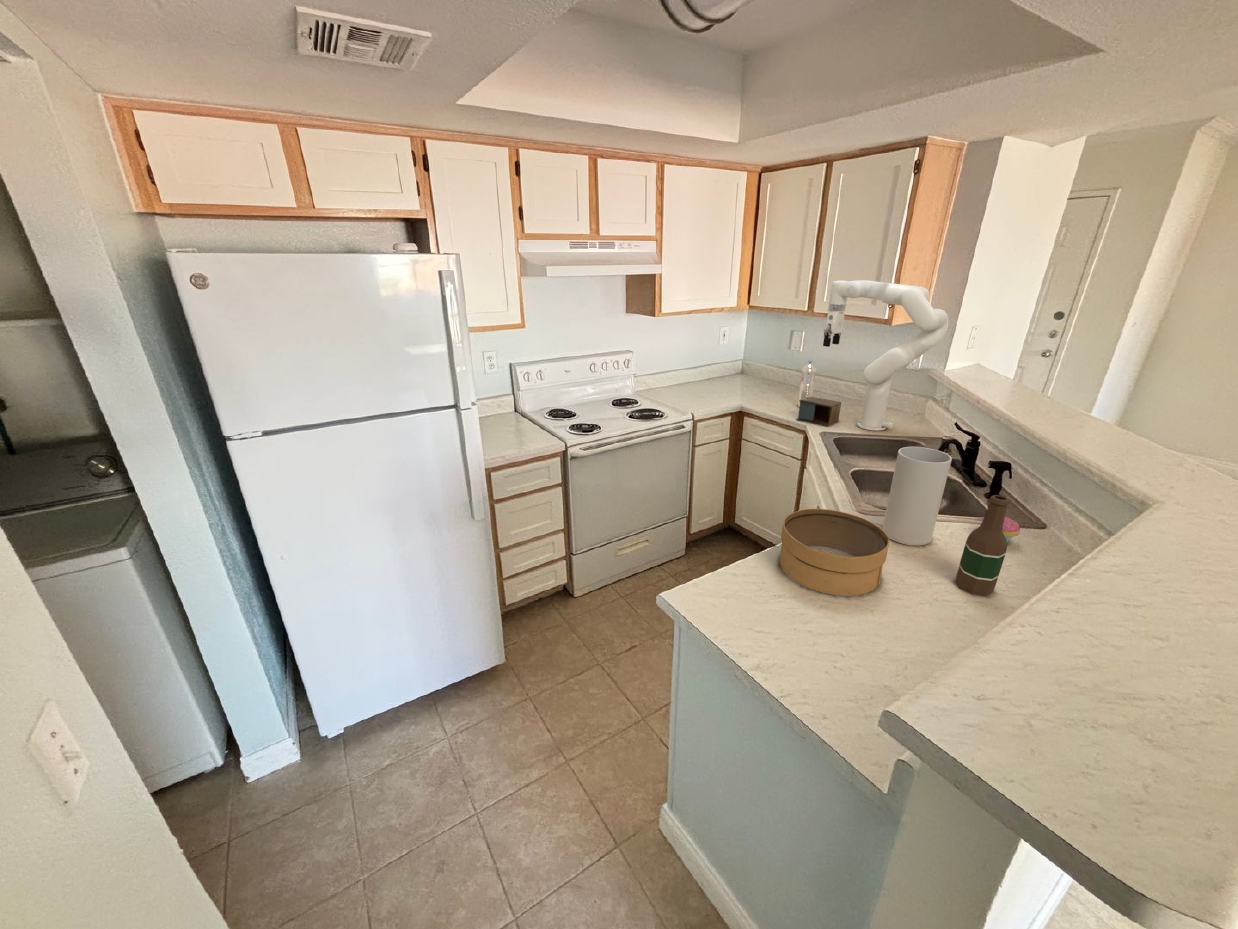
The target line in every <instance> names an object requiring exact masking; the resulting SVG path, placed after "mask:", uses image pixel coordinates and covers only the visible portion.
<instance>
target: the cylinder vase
mask: <svg viewBox="0 0 1238 929" xmlns="http://www.w3.org/2000/svg"><path fill="white" fill-rule="evenodd" d="M952 460H953V457H952V456H951V455H949V454H948V453H946V452H944V451H941V450H938V449H934V448H929V447H924V446H923V447H922V446H905V447H901V448H899V449H898V451H897V456H896V461H895V467H894V470H893V474H892V475H893V476H892V480H891V485H890V489H889V495H888V499H887V504H886V507H885V508H886V510H885V513H884V518H883V522H882V528H881V529H882V530H883V531H884V532H885V533H886V534H887V535H888V537H889V540H892V541H894V542H897V543H899V544H903V545H905V546H912V547H913V546H914V547H915V546H916V547H919V546H925V545H927V544H930V543H931V541H932V539H933V535H934V531H935V528H936V524H937V519H938V515H939V512H940V507H941V503H942V500H943V495H944V492H945V488H946V483H947V480H948V477H949V476H948V475H949V472H950V467H951V465H952Z"/></svg>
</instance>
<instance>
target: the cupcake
mask: <svg viewBox="0 0 1238 929" xmlns="http://www.w3.org/2000/svg"><path fill="white" fill-rule="evenodd" d="M1020 533H1021V527H1020V525H1019V524H1018V522H1016V521H1015V520H1014V519H1012V518H1010V517H1008V516H1005V518H1004V523H1003V534H1004V536H1005V538H1006V541H1007V543H1009V542H1010V540H1011V539H1012V538H1013V537H1018V536H1019V535H1020Z"/></svg>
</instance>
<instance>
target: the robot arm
mask: <svg viewBox="0 0 1238 929" xmlns="http://www.w3.org/2000/svg"><path fill="white" fill-rule="evenodd" d="M848 298H849V299H857V298H858V299H859V298H866V299H873V300H878V301H880V302H882V303H883V304H886V305H894V306H900V307H903V309H904V311H905V312H906V314H907V315H908V317H909V318H910V319H911V321H912V322H913V324H914V325H915V327H916V328H917V329H919V330H920V331H919V332H918V333H917V334H915V335H914V336H912V337H911V338H910V339H908V340H906V342H904V343H902V344H901V345H899V346H894V347H892V348H891V349H889V350H887V351H886V352H885V353H884V354H882V355H880V356H879V357H878V358H875V360H873V361H872V362H870V363H869V364H868V365H867V366H866V367H865V369H864V370H863V373H862V378H863V380H864V381H865V382H866V383H867V387H866V392H865V398H864V405H863V410H862V415H861V420H860V421H858V422H857V423H856V426H857V427H858V428H860V429H862V430H866V431H867V430H868V431H874V432H875V431H876V432H877V431H884V430H886V429H887V428H890V429H893V425H894V424H893V422H890V421H887V418H885V416H886V411H887V406H888V401H889V397H890V392H891V387H892V383H893V380H894V376H895V374H896V373H897V372H899V371H901V370H902V369H903V368H906V367H908V366H910V364H911V363H913V362H914V361H916V360H917V359H918V358H920V357H921V356H923V355H924V354H925V353H927V352H928V351H930V350H931V349H932V348H934V347H935V346H936V345H937V344H939V342H941V341H942V339H943V338H944V337H945V336H946V333H947V331H948V329H949V324H950V322H949V320H950V319H949V315H948V313H947V312H946V311H945V310H943V309H942V308H934V307H933V305H932V304H931V303H930V302H929V299H930V291H929V289H927V288H926V287H924V286H920V285H912V284H911V285H910V284H901V283H893V282H883V281H875V280H867V279H859V280H849V281H848V280H834V281H832V283H831V286H830V293H829V300H828V306H827V317H826V321H825V326H824V329H823V343H822V347H828V348H829V347H830V346H831V345H840V340H841V335H842V332H843V331H844V324H845V312H846V308H847V307H846V306H847V300H848ZM831 337H832V338H831ZM831 341H832V342H831Z"/></svg>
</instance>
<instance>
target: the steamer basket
mask: <svg viewBox="0 0 1238 929" xmlns="http://www.w3.org/2000/svg"><path fill="white" fill-rule="evenodd" d="M780 539H781V546H780V553H779V565H780V567H781V570H783V572H784V573H785V574H786V575H787V576H788V577H789V578H790V579H792V580H793V581H795V582H796V583H798V584H800V585H801V586H803V587H805V588H808V589H810V590H812V591H816V592H820V593H822V594H827V595H830V596H831V595H833V596H841V597H856V596H860V595H861V596H862V595H865V594H868V593H871V592H872V591H874V590H875V589H876V588H879V585H880V584H881V579H882V574H883V573H882V572H883V566H884V564H886V561H887V559H888V558H887V557H888V552H889V548H890V547H889V546H890V538H889V537H888V535H887V534H886V533H885V532H884V531H883V530H882V528H881V527H880V526H878V525H877V524H875V523H873V522H871V521H869V520H867V519H865V518H863V517H861V516H858V515H855V514H851V513H848V512H844V511H839V510H834V509H826V508H807V509H800V510H796V511H793V512H791V513H789V514H788V515H786V516H785V518H784V519H783V521H782V527H781V535H780ZM811 546H814V547H811ZM816 548H817V549H816ZM830 552H831V553H830Z"/></svg>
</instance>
